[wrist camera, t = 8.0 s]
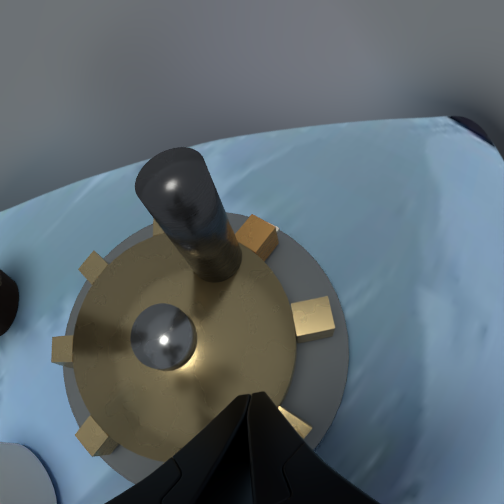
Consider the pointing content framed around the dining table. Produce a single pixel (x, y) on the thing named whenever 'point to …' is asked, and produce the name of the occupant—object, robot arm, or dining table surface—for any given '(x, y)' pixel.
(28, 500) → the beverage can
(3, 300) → the coffee mug
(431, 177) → the dining table surface
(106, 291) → the sprocket
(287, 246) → the sprocket base
